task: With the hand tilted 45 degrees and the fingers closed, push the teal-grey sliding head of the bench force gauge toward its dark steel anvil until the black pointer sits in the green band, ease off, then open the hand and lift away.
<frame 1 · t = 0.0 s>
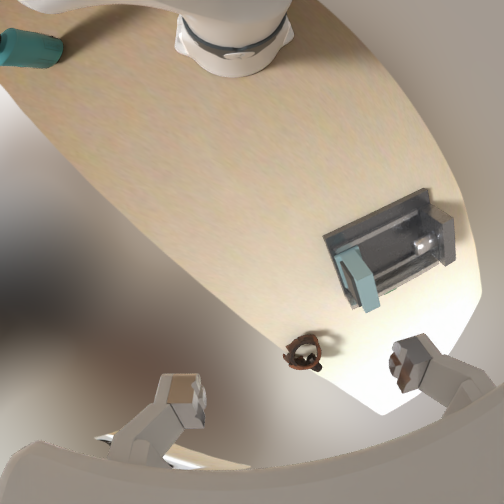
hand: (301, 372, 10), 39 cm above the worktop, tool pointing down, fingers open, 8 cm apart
beverage bottle: (55, 54, 30), on the worktop
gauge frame: (385, 243, 52), on the worktop
brown hollow ring part: (301, 346, 65), on the worktop
gauge slider: (362, 288, 49), point 7 cm above the worktop, slide at 0.0 cm
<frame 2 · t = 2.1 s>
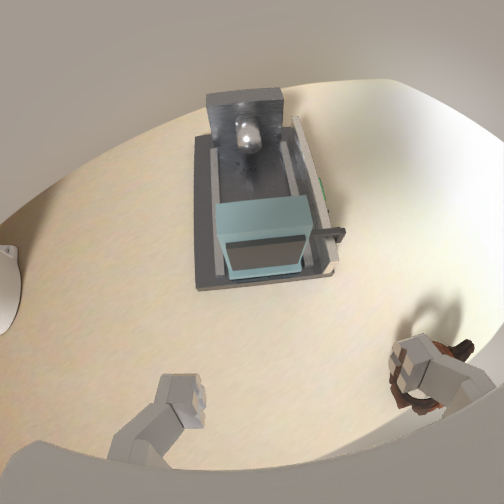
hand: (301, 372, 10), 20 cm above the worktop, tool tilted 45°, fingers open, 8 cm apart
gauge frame: (254, 198, 37), on the worktop
brown hollow ring part: (421, 374, 27), on the worktop
gauge slider: (286, 235, 28), point 6 cm above the worktop, slide at 0.0 cm
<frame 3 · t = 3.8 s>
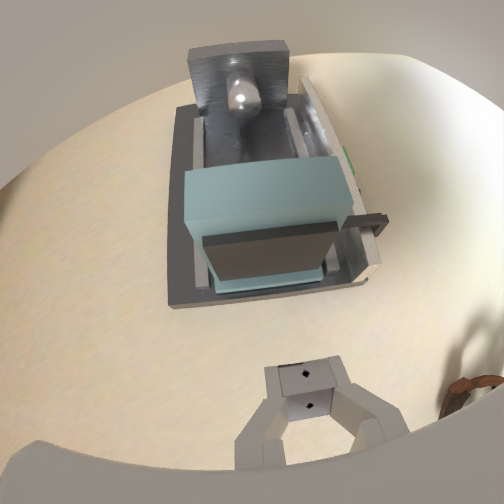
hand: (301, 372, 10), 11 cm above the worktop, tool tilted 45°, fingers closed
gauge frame: (252, 178, 27), on the worktop
brown hollow ring part: (469, 410, 17), on the worktop
gauge slider: (302, 224, 17), point 6 cm above the worktop, slide at 0.0 cm
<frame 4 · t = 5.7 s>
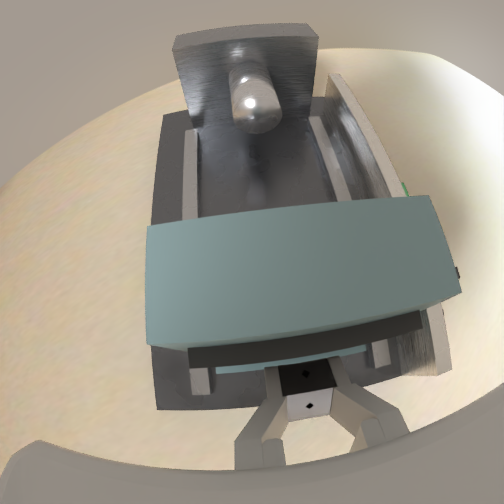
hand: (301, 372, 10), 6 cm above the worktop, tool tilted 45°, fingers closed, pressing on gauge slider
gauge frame: (268, 219, 19), on the worktop
gauge slider: (351, 294, 11), point 7 cm above the worktop, slide at 1.6 cm, touching gripper
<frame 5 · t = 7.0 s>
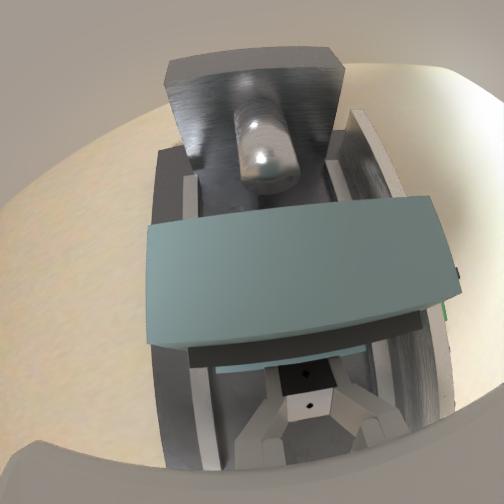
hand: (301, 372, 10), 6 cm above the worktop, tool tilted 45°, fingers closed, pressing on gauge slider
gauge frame: (278, 287, 18), on the worktop
gauge slider: (351, 294, 11), point 7 cm above the worktop, slide at 6.6 cm, touching gripper
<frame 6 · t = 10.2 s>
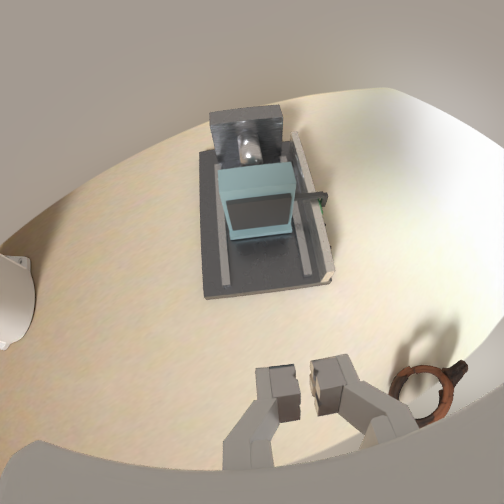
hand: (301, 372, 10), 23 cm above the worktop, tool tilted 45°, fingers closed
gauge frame: (257, 211, 40), on the worktop
brown hollow ring part: (418, 392, 28), on the worktop
gauge slider: (277, 198, 33), point 6 cm above the worktop, slide at 6.6 cm
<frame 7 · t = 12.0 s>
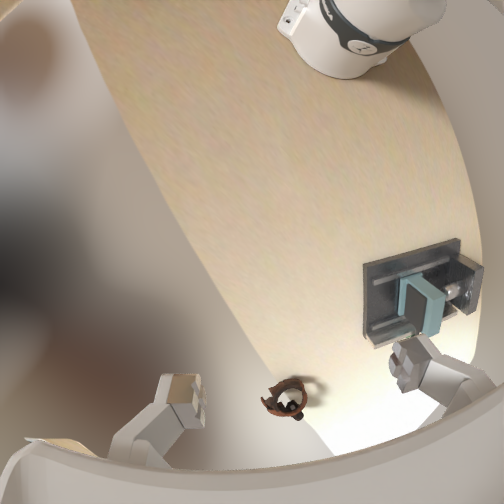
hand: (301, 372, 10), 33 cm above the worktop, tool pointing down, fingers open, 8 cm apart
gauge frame: (413, 286, 49), on the worktop
brown hollow ring part: (283, 391, 55), on the worktop
gauge slider: (420, 315, 43), point 6 cm above the worktop, slide at 6.6 cm
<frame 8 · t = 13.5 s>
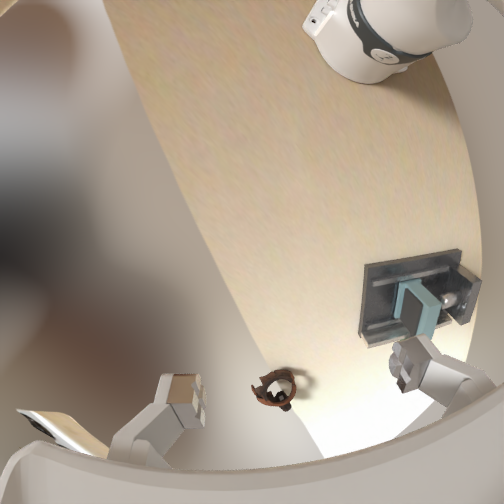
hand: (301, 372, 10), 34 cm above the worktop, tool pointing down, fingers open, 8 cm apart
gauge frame: (411, 291, 50), on the worktop
brown hollow ring part: (273, 381, 57), on the worktop
gauge slider: (415, 320, 45), point 6 cm above the worktop, slide at 6.6 cm
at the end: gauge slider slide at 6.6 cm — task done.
